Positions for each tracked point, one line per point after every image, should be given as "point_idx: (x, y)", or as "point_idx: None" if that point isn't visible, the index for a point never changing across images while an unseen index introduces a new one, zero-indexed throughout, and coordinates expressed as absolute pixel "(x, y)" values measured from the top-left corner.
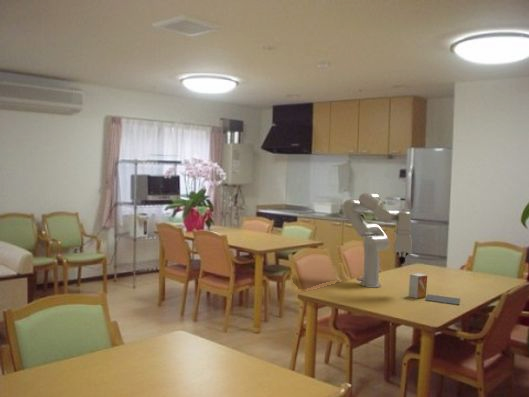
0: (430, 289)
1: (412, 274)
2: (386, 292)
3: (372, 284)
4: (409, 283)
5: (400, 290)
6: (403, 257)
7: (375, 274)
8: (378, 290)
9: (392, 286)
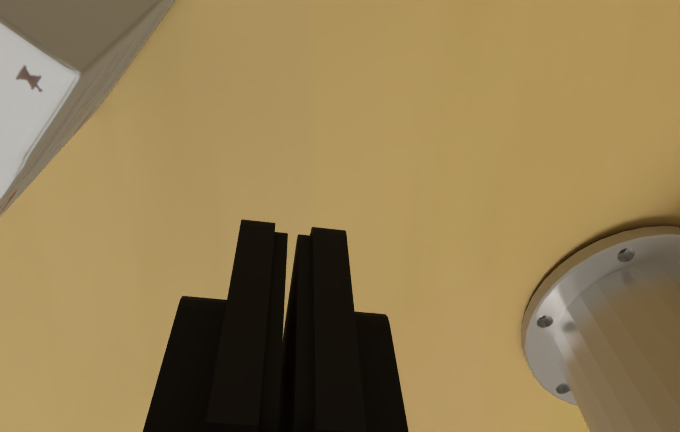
0: (8, 398)
1: (16, 70)
2: (484, 63)
3: (639, 269)
4: (140, 16)
5: None
6: (205, 426)
7: (669, 371)
8: (577, 126)
9: None
